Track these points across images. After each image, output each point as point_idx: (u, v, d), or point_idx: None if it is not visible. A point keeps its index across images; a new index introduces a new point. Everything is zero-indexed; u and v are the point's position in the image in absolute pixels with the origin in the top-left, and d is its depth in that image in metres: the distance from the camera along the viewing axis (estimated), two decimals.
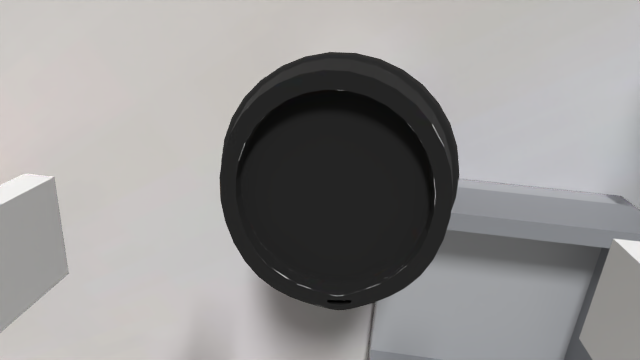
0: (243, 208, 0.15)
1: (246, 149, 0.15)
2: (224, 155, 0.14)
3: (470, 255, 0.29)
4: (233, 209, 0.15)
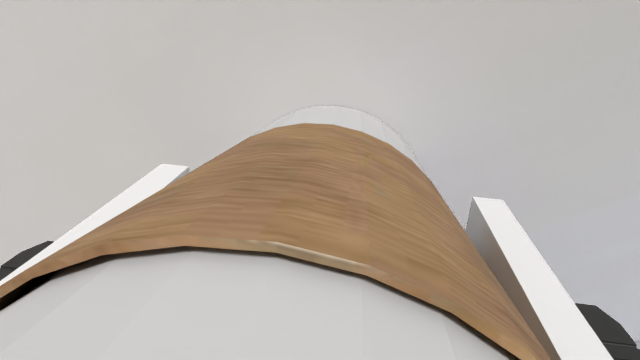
0: None
1: None
2: None
3: None
4: None
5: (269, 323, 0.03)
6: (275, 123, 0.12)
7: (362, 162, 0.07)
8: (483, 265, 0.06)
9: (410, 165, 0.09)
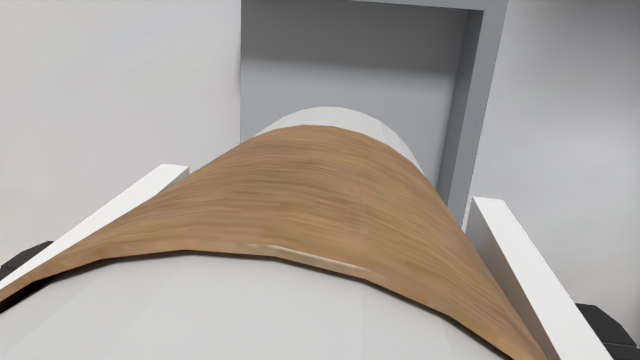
0: None
1: None
2: None
3: (328, 63, 0.27)
4: None
5: (268, 327, 0.03)
6: (275, 124, 0.12)
7: (361, 164, 0.07)
8: (482, 267, 0.06)
9: (409, 167, 0.09)
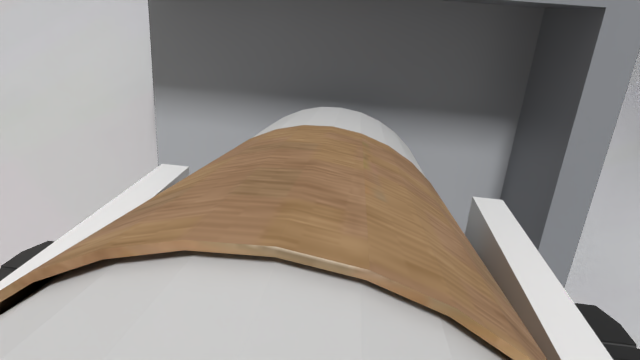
0: None
1: None
2: None
3: (299, 98, 0.16)
4: None
5: (268, 329, 0.03)
6: (275, 125, 0.12)
7: (361, 165, 0.07)
8: (482, 268, 0.06)
9: (409, 167, 0.09)
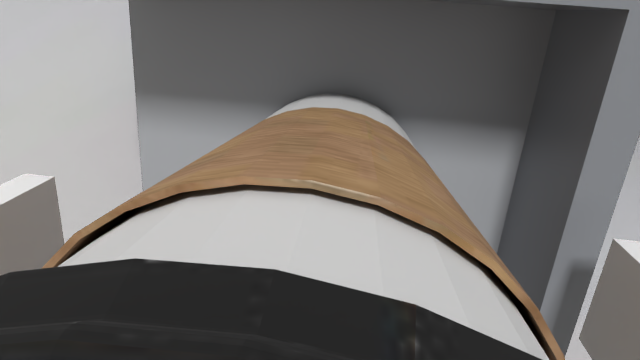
0: None
1: None
2: None
3: None
4: None
5: (313, 227, 0.04)
6: (284, 108, 0.13)
7: (367, 136, 0.08)
8: (466, 217, 0.07)
9: (406, 143, 0.10)
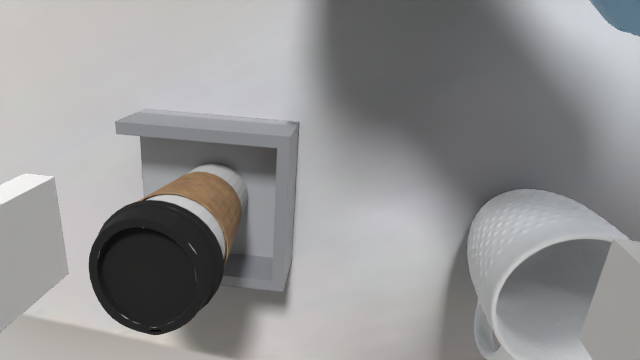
0: (104, 281, 0.28)
1: (103, 251, 0.28)
2: (90, 256, 0.27)
3: None
4: (97, 283, 0.28)
5: (172, 199, 0.30)
6: (193, 170, 0.39)
7: (201, 182, 0.34)
8: (217, 200, 0.33)
9: (221, 182, 0.36)
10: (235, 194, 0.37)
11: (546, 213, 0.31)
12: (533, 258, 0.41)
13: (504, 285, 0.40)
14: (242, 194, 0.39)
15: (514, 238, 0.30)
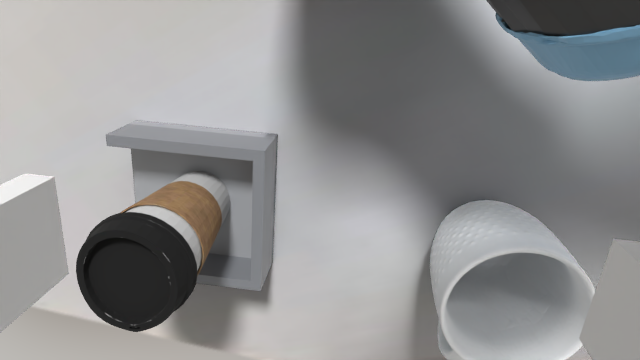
0: (90, 283, 0.32)
1: (89, 257, 0.31)
2: (77, 261, 0.31)
3: None
4: (83, 285, 0.31)
5: (152, 210, 0.33)
6: (178, 178, 0.42)
7: (182, 192, 0.37)
8: (195, 210, 0.36)
9: (202, 192, 0.39)
10: (215, 202, 0.40)
11: (495, 226, 0.34)
12: (496, 263, 0.44)
13: (466, 289, 0.43)
14: (223, 201, 0.42)
15: (464, 249, 0.33)
